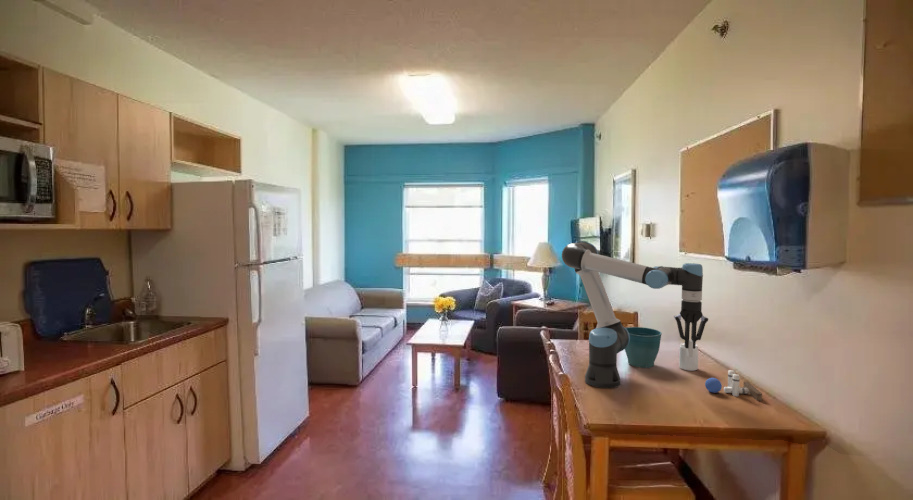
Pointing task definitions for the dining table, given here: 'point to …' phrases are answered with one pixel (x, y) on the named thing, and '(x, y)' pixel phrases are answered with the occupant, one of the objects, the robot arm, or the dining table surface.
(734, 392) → the pin
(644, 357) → the flower pot
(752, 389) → the wall
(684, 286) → the robot arm
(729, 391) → the front pin
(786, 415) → the dining table surface
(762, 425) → the dining table surface
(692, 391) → the dining table surface
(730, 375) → the pin
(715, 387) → the ball
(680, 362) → the beverage can
